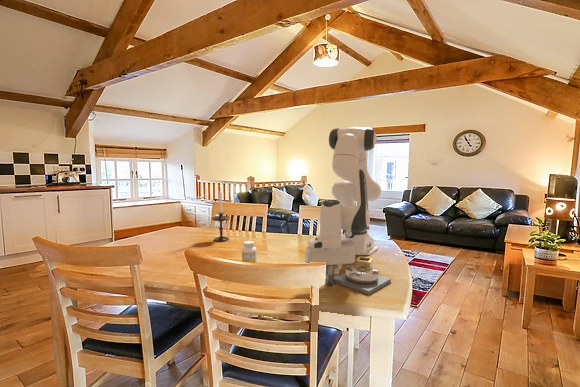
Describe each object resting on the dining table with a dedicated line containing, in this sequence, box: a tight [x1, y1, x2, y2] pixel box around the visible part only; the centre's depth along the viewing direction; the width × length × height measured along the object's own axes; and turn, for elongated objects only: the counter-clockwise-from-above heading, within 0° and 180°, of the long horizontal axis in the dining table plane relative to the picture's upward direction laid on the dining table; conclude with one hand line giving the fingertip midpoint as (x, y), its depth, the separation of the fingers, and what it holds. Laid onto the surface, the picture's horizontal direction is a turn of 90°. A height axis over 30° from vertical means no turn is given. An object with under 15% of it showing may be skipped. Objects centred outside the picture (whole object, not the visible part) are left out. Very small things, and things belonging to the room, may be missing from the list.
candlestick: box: [211, 185, 231, 243], centre depth 188 cm, size 11×11×35 cm
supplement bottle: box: [241, 240, 258, 264], centre depth 138 cm, size 7×7×13 cm
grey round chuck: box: [345, 255, 380, 284], centre depth 124 cm, size 14×13×6 cm
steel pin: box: [325, 265, 335, 287], centre depth 121 cm, size 3×3×9 cm
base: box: [334, 272, 392, 296], centre depth 124 cm, size 17×17×4 cm
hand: (329, 274), depth 121 cm, fingers open, 4 cm apart
